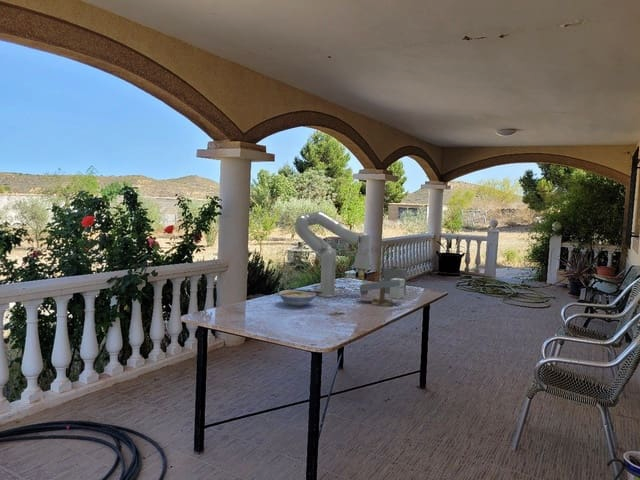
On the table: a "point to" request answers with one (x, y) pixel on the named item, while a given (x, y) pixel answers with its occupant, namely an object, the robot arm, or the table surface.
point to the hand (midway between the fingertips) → (361, 278)
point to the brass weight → (361, 274)
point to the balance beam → (378, 286)
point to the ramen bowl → (297, 296)
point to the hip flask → (394, 276)
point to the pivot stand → (382, 299)
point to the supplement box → (397, 289)
